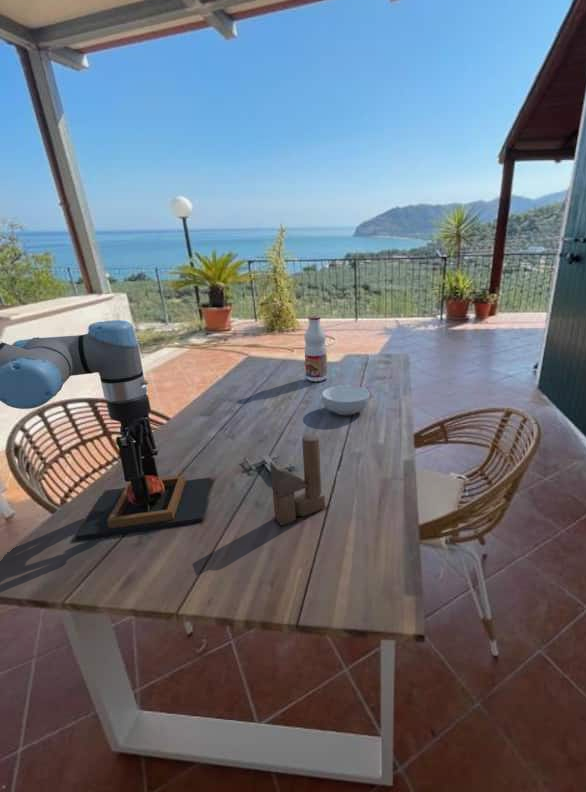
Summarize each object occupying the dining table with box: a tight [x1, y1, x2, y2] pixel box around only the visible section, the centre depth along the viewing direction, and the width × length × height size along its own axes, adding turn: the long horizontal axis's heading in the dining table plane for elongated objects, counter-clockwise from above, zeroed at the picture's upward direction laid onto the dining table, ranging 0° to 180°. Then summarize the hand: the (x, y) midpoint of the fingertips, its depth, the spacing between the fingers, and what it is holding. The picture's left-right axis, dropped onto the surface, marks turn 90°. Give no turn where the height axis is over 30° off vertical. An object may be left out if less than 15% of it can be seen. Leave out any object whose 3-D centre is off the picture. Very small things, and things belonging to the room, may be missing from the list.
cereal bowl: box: [321, 385, 370, 416], centre depth 139 cm, size 17×17×7 cm
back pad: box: [75, 475, 212, 541], centre depth 88 cm, size 24×16×3 cm, turn 103°
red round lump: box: [127, 475, 165, 512], centre depth 87 cm, size 7×7×10 cm
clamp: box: [243, 455, 295, 474], centre depth 103 cm, size 15×2×10 cm
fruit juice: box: [303, 315, 328, 378], centre depth 168 cm, size 9×9×28 cm
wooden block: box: [270, 433, 326, 526], centre depth 84 cm, size 4×11×18 cm, turn 125°
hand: (148, 491), depth 87 cm, fingers closed on red round lump, 7 cm apart
